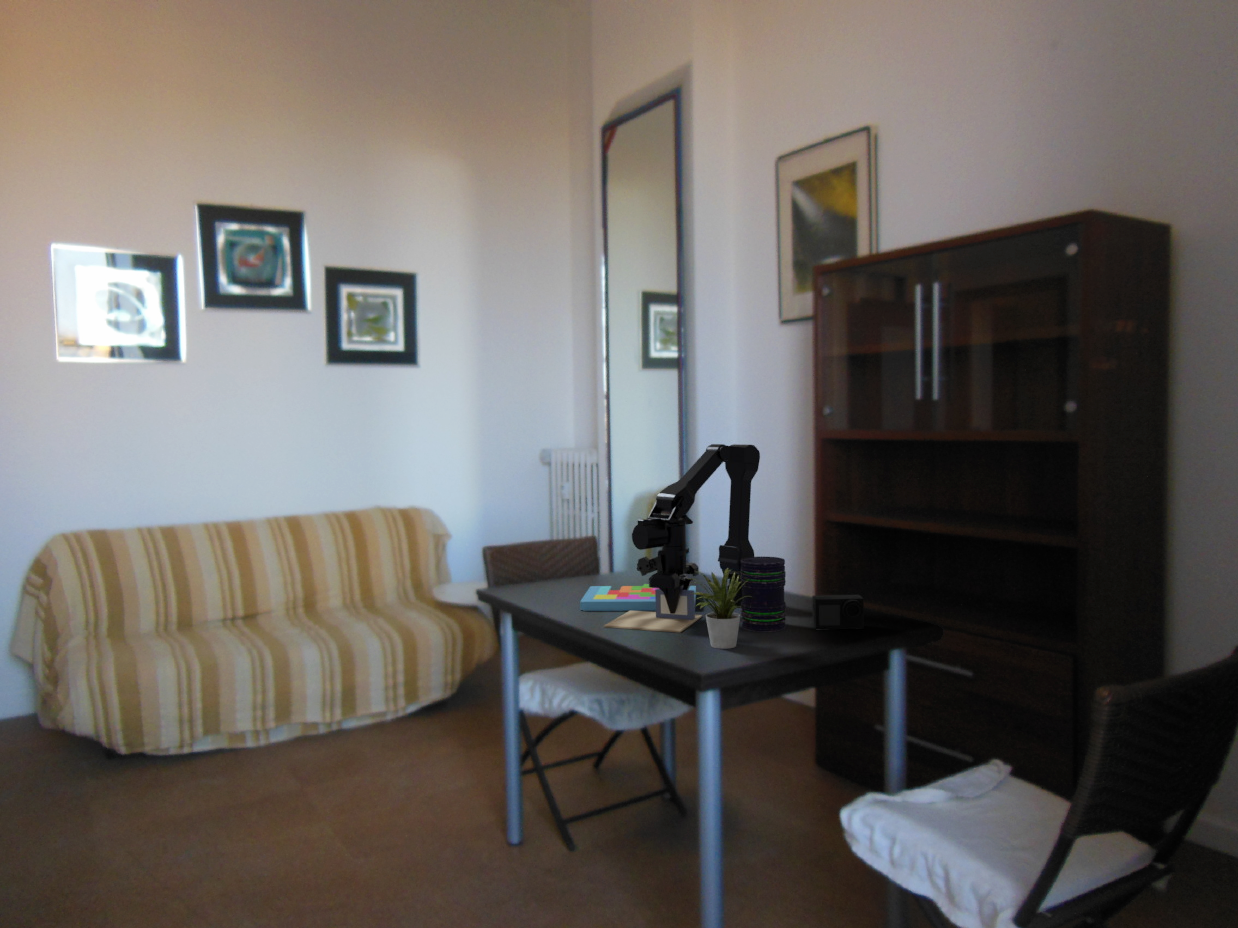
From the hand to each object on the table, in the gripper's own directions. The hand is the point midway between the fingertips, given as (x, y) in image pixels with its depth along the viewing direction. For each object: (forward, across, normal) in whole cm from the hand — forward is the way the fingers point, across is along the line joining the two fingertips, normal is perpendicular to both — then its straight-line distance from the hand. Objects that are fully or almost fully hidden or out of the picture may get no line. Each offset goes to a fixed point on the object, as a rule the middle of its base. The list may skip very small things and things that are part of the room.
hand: (675, 611), depth 207 cm
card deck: (+1, 0, 0) cm, 1 cm away
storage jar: (+2, +1, +21) cm, 21 cm away
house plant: (+2, +18, +16) cm, 24 cm away
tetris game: (+3, -20, -16) cm, 26 cm away
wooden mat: (+2, +4, -4) cm, 6 cm away
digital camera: (+2, -2, +37) cm, 37 cm away
